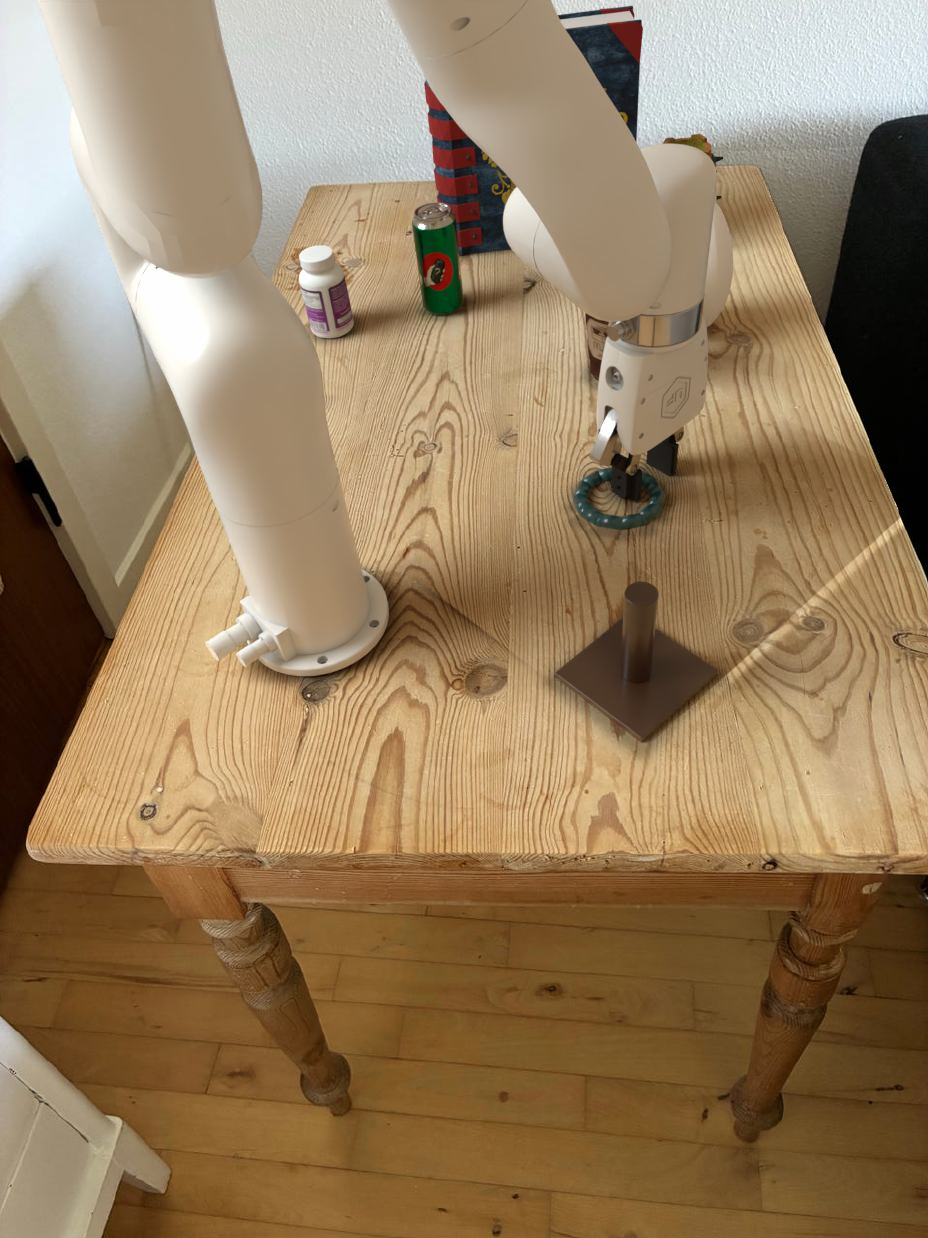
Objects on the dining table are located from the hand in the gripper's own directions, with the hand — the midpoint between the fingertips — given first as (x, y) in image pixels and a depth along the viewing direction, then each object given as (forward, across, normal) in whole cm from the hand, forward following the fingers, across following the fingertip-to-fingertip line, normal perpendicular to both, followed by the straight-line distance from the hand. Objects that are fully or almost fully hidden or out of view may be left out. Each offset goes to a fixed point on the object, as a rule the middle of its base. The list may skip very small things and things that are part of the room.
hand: (643, 483), depth 90 cm
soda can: (+1, +10, +40) cm, 41 cm away
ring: (0, -4, 0) cm, 4 cm away
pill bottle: (+1, -2, +47) cm, 47 cm away
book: (+1, +30, +44) cm, 53 cm away
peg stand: (0, -18, -15) cm, 24 cm away
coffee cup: (+1, +12, +14) cm, 19 cm away
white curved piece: (+1, +24, +14) cm, 28 cm away
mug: (+1, +42, +29) cm, 51 cm away
